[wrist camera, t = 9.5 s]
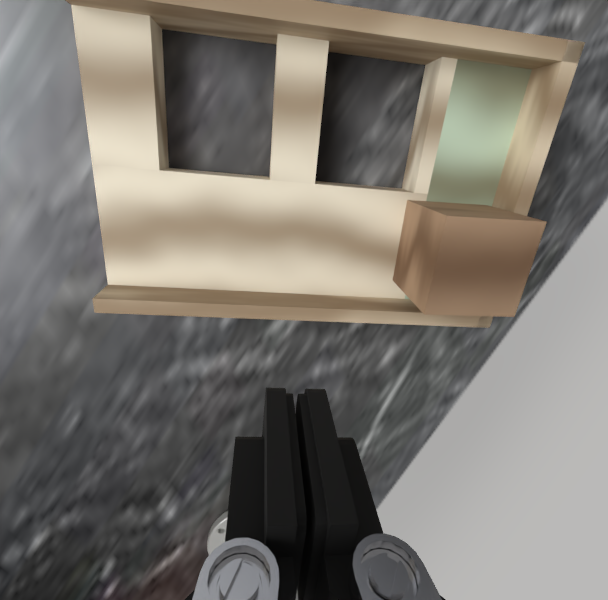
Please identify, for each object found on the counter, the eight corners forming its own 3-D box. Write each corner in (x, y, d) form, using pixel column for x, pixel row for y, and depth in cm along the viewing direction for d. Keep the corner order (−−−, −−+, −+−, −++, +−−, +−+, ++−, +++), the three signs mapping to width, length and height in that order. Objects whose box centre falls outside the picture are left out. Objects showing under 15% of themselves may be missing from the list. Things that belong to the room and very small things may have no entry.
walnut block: (465, 283, 28) (514, 316, 23) (392, 280, 27) (424, 314, 22) (486, 205, 26) (546, 221, 20) (407, 200, 25) (446, 215, 20)
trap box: (457, 301, 32) (489, 327, 27) (122, 284, 28) (94, 312, 23) (525, 61, 24) (584, 42, 20) (89, -2, 21) (40, -42, 16)
